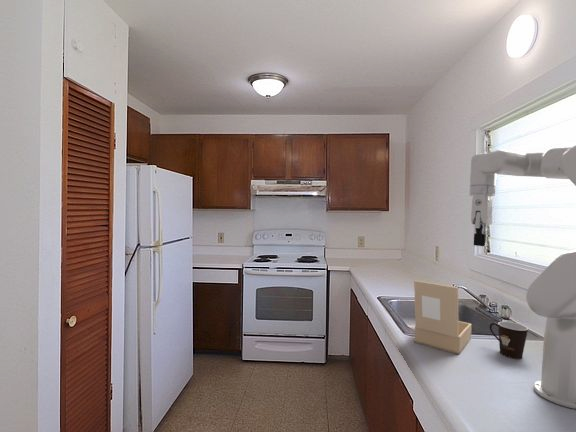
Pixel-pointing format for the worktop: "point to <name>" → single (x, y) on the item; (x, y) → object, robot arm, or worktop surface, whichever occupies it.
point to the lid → (436, 307)
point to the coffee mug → (511, 338)
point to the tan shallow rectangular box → (445, 338)
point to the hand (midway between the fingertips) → (479, 245)
